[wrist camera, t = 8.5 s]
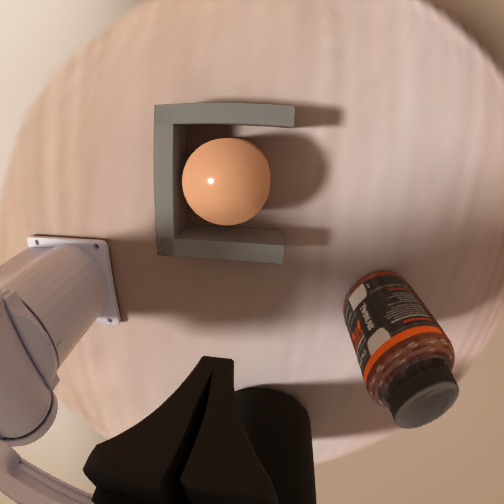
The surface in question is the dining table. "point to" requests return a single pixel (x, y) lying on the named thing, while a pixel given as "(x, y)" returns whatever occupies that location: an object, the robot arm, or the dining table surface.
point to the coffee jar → (280, 442)
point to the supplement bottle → (400, 349)
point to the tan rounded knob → (226, 181)
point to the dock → (171, 191)
